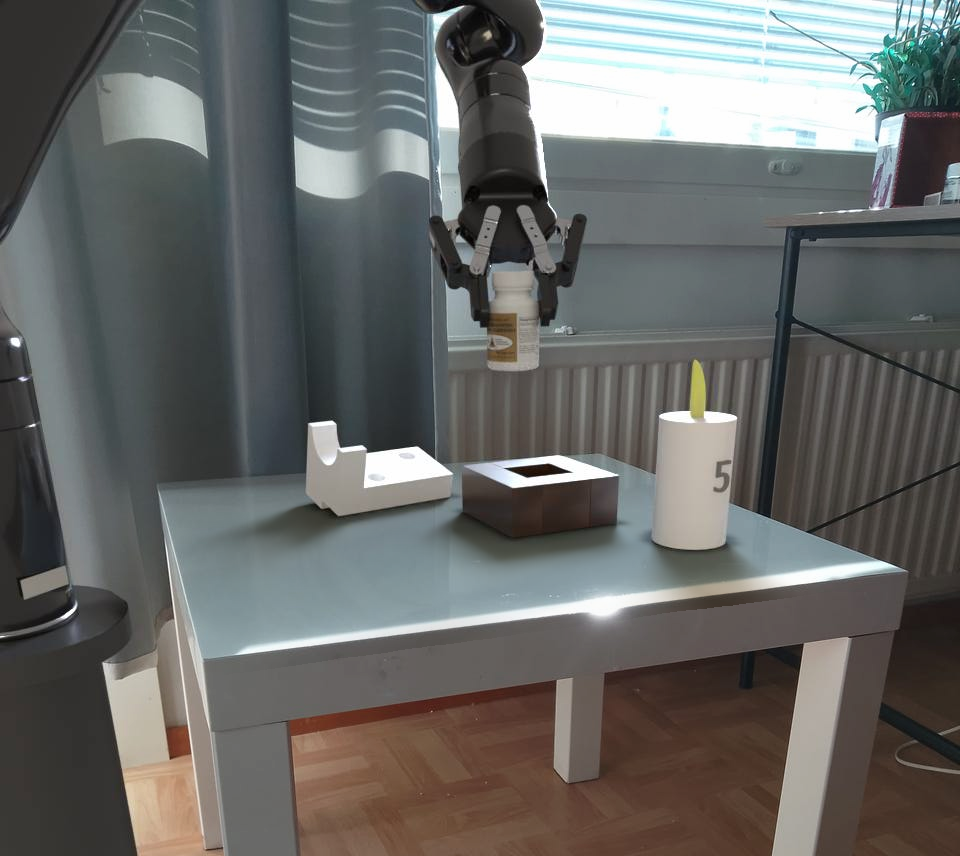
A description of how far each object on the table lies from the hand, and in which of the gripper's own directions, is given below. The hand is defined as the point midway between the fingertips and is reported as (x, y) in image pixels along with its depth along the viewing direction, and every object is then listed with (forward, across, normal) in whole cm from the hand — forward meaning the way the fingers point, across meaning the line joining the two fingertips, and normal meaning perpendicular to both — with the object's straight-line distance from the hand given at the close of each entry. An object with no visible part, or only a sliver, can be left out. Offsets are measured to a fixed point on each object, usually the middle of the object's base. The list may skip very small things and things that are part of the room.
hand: (515, 319), depth 76 cm
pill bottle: (+2, 0, +4) cm, 5 cm away
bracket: (+3, -12, +23) cm, 26 cm away
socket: (+9, +3, +17) cm, 19 cm away
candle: (+15, +15, +11) cm, 24 cm away
